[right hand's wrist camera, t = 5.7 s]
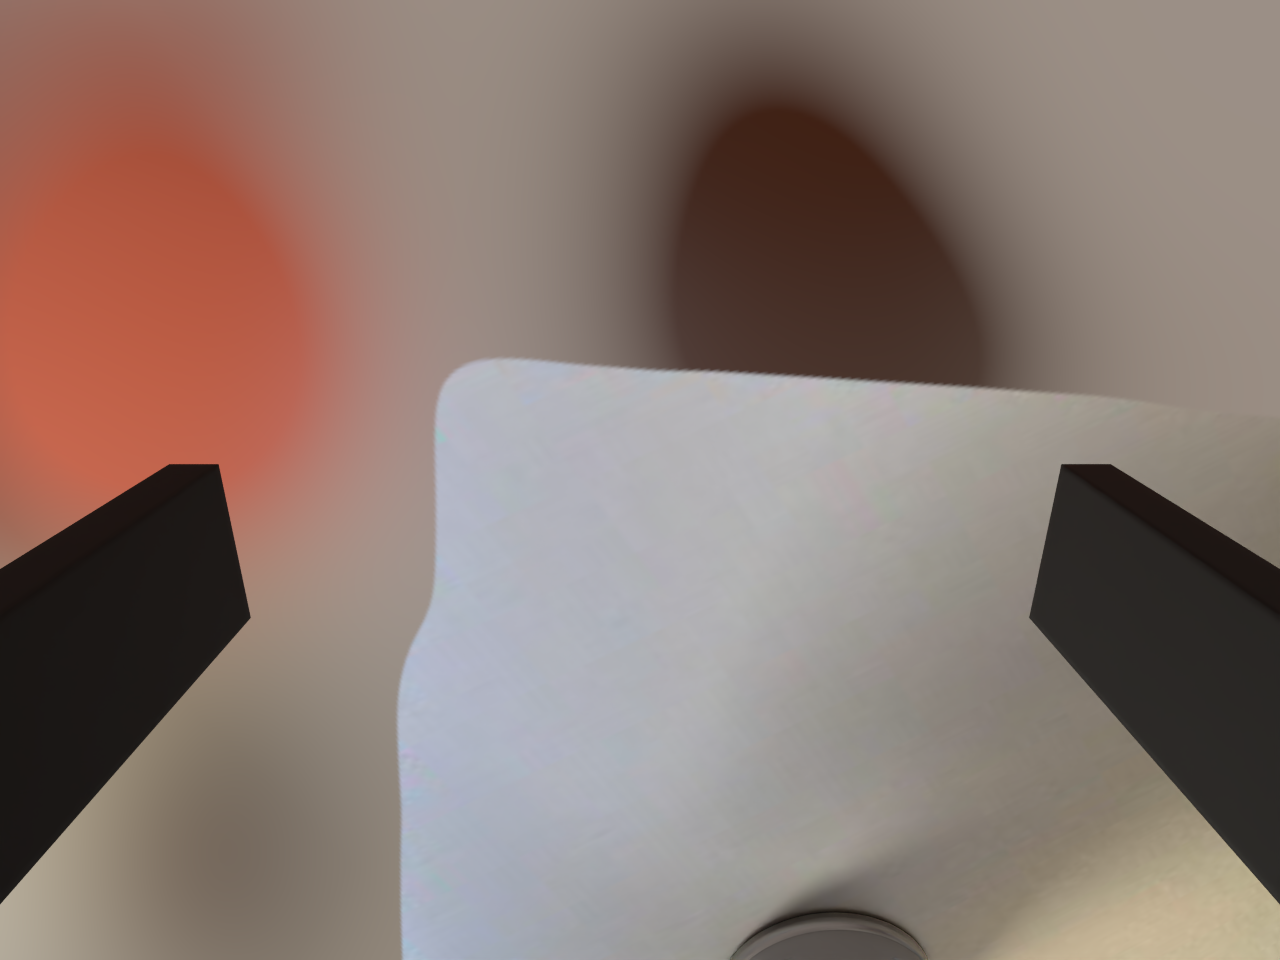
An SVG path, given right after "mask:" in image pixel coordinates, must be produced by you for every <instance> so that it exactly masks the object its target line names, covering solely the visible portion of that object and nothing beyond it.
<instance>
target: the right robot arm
mask: <svg viewBox="0 0 1280 960" xmlns="http://www.w3.org/2000/svg"><path fill="white" fill-rule="evenodd" d="M1029 618H1030V619H1031V620H1032V621H1033V623H1034V624H1035V625H1036V626H1037V627H1038V628H1039V629H1040V631H1041V632H1042V633H1043V634H1044V635H1045V636H1046V637H1047V639H1048V640H1049V641H1050V642H1051V643H1052V644H1053V645H1054V647H1055V648H1056V649H1057V650H1058V651H1059V652H1060V653H1061V655H1062V656H1063V657H1064V658H1065V659H1066V660H1067V661H1068V663H1069V664H1070V665H1071V666H1072V667H1073V668H1074V669H1075V671H1076V672H1077V673H1078V674H1079V675H1080V676H1081V677H1082V679H1083V680H1084V681H1085V682H1086V683H1087V684H1088V685H1089V687H1090V688H1091V689H1092V690H1093V691H1094V692H1095V693H1096V695H1097V696H1098V697H1099V698H1100V699H1101V700H1102V701H1103V703H1104V704H1105V705H1106V706H1107V707H1108V708H1109V709H1110V711H1111V712H1112V713H1113V714H1114V715H1115V716H1116V717H1117V719H1118V720H1119V721H1120V722H1121V723H1122V724H1123V725H1124V727H1125V728H1126V729H1127V730H1128V731H1129V732H1130V733H1131V735H1132V736H1133V737H1134V738H1135V739H1136V740H1137V741H1138V743H1139V744H1140V745H1141V746H1142V747H1143V748H1144V749H1145V751H1146V752H1147V753H1148V754H1149V755H1150V756H1151V757H1152V759H1153V760H1154V761H1155V762H1156V763H1157V764H1158V765H1159V767H1160V768H1161V769H1162V770H1163V771H1164V772H1165V773H1166V775H1167V776H1168V777H1169V778H1170V779H1171V780H1172V781H1173V783H1174V784H1175V785H1176V786H1177V787H1178V788H1179V789H1180V791H1181V792H1182V793H1183V794H1184V795H1185V796H1186V797H1187V799H1188V800H1189V801H1190V802H1191V803H1192V804H1193V805H1194V807H1195V808H1196V809H1197V810H1198V811H1199V812H1200V814H1201V815H1202V816H1203V817H1204V818H1205V819H1206V820H1207V822H1208V823H1209V824H1210V825H1211V826H1212V827H1213V828H1214V830H1215V831H1216V832H1217V833H1218V834H1219V835H1220V836H1221V838H1222V839H1223V840H1224V841H1225V842H1226V843H1227V844H1228V846H1229V847H1230V848H1231V849H1232V850H1233V851H1234V852H1235V854H1236V855H1237V856H1238V857H1239V858H1240V859H1241V860H1242V862H1243V863H1244V864H1245V865H1246V866H1247V867H1248V868H1249V870H1250V871H1251V872H1252V873H1253V874H1254V875H1255V876H1256V878H1257V879H1258V880H1259V881H1260V882H1261V883H1262V884H1263V886H1264V887H1265V888H1266V889H1267V890H1268V891H1269V892H1270V894H1271V895H1272V896H1273V897H1274V898H1275V899H1276V900H1277V902H1278V903H1279V904H1280V569H1279V568H1277V567H1276V566H1274V565H1272V564H1271V563H1269V562H1267V561H1266V560H1264V559H1263V558H1261V557H1259V556H1258V555H1256V554H1255V553H1253V552H1251V551H1250V550H1248V549H1247V548H1245V547H1243V546H1242V545H1240V544H1238V543H1237V542H1235V541H1234V540H1232V539H1230V538H1229V537H1227V536H1226V535H1224V534H1222V533H1221V532H1219V531H1217V530H1216V529H1214V528H1213V527H1211V526H1209V525H1208V524H1206V523H1205V522H1203V521H1201V520H1200V519H1198V518H1197V517H1195V516H1193V515H1192V514H1190V513H1188V512H1187V511H1185V510H1184V509H1182V508H1180V507H1179V506H1177V505H1176V504H1174V503H1172V502H1171V501H1169V500H1167V499H1166V498H1164V497H1163V496H1161V495H1159V494H1158V493H1156V492H1155V491H1153V490H1151V489H1150V488H1148V487H1146V486H1145V485H1143V484H1142V483H1140V482H1138V481H1137V480H1135V479H1134V478H1132V477H1130V476H1129V475H1127V474H1126V473H1124V472H1122V471H1121V470H1119V469H1117V468H1116V467H1114V466H1113V465H1111V464H1061V469H1060V474H1059V479H1058V483H1057V488H1056V493H1055V498H1054V502H1053V507H1052V512H1051V517H1050V522H1049V526H1048V531H1047V536H1046V541H1045V545H1044V550H1043V555H1042V560H1041V564H1040V569H1039V574H1038V579H1037V584H1036V588H1035V593H1034V598H1033V603H1032V607H1031V612H1030V617H1029ZM249 619H250V612H249V607H248V603H247V598H246V593H245V588H244V584H243V579H242V574H241V569H240V565H239V560H238V555H237V550H236V545H235V541H234V536H233V531H232V526H231V522H230V517H229V512H228V507H227V502H226V498H225V493H224V488H223V484H222V479H221V474H220V469H219V465H218V464H169V465H167V466H166V467H164V468H163V469H161V470H159V471H158V472H156V473H154V474H153V475H151V476H150V477H148V478H147V479H145V480H143V481H142V482H140V483H138V484H137V485H135V486H134V487H132V488H130V489H129V490H127V491H125V492H124V493H122V494H121V495H119V496H117V497H116V498H114V499H113V500H111V501H109V502H108V503H106V504H104V505H103V506H101V507H100V508H98V509H96V510H95V511H93V512H92V513H90V514H88V515H87V516H85V517H84V518H82V519H80V520H79V521H77V522H75V523H74V524H72V525H71V526H69V527H67V528H66V529H64V530H63V531H61V532H59V533H58V534H56V535H54V536H53V537H51V538H50V539H48V540H46V541H45V542H43V543H42V544H40V545H38V546H37V547H35V548H33V549H32V550H30V551H29V552H27V553H25V554H24V555H22V556H21V557H19V558H17V559H16V560H14V561H13V562H11V563H9V564H8V565H6V566H4V567H3V568H1V569H0V904H1V903H2V902H3V900H4V899H5V898H6V897H7V896H8V895H9V893H10V892H11V891H12V890H13V889H14V888H15V887H16V886H17V884H18V883H19V882H20V881H21V880H22V879H23V877H24V876H25V875H26V874H27V873H28V872H29V871H30V870H31V868H32V867H33V866H34V865H35V864H36V863H37V862H38V860H39V859H40V858H41V857H42V856H43V855H44V854H45V852H46V851H47V850H48V849H49V848H50V847H51V846H52V844H53V843H54V842H55V841H56V840H57V839H58V837H59V836H60V835H61V834H62V833H63V832H64V831H65V829H66V828H67V827H68V826H69V825H70V824H71V823H72V822H73V820H74V819H75V818H76V817H77V816H78V815H79V813H80V812H81V811H82V810H83V809H84V808H85V807H86V805H87V804H88V803H89V802H90V801H91V800H92V799H93V797H94V796H95V795H96V794H97V793H98V792H99V791H100V789H101V788H102V787H103V786H104V785H105V784H106V783H107V781H108V780H109V779H110V778H111V777H112V776H113V775H114V773H115V772H116V771H117V770H118V769H119V768H120V767H121V765H122V764H123V763H124V762H125V761H126V760H127V759H128V757H129V756H130V755H131V754H132V753H133V752H134V751H135V749H136V748H137V747H138V746H139V745H140V744H141V743H142V741H143V740H144V739H145V738H146V737H147V736H148V735H149V733H150V732H151V731H152V730H153V729H154V728H155V727H156V725H157V724H158V723H159V722H160V721H161V720H162V719H163V717H164V716H165V715H166V714H167V713H168V712H169V711H170V709H171V708H172V707H173V706H174V705H175V704H176V703H177V701H178V700H179V699H180V698H181V697H182V696H183V695H184V693H185V692H186V691H187V690H188V689H189V688H190V687H191V685H192V684H193V683H194V682H195V681H196V680H197V679H198V677H199V676H200V675H201V674H202V673H203V672H204V671H205V669H206V668H207V667H208V666H209V665H210V664H211V663H212V661H213V660H214V659H215V658H216V657H217V656H218V655H219V653H220V652H221V651H222V650H223V649H224V648H225V647H226V645H227V644H228V643H229V642H230V641H231V640H232V638H233V637H234V636H235V635H236V634H237V633H238V632H239V631H240V629H241V628H242V627H243V626H244V625H245V624H246V623H247V621H248V620H249ZM730 960H928V958H927V956H926V954H925V953H924V951H923V950H922V948H921V947H920V946H919V944H918V943H917V942H916V941H915V940H914V939H913V938H912V937H910V936H909V935H908V934H907V933H905V932H904V931H902V930H901V929H899V928H897V927H896V926H894V925H892V924H889V923H887V922H885V921H882V920H879V919H877V918H873V917H869V916H865V915H859V914H852V913H838V912H833V913H818V914H810V915H805V916H800V917H796V918H792V919H789V920H786V921H783V922H780V923H778V924H776V925H773V926H771V927H769V928H767V929H765V930H763V931H761V932H760V933H758V934H757V935H755V936H754V937H752V938H751V939H750V940H748V941H747V942H746V943H745V944H744V945H742V946H741V947H740V948H739V949H738V950H737V952H736V953H735V954H734V955H733V956H732V958H731V959H730Z"/></svg>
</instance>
